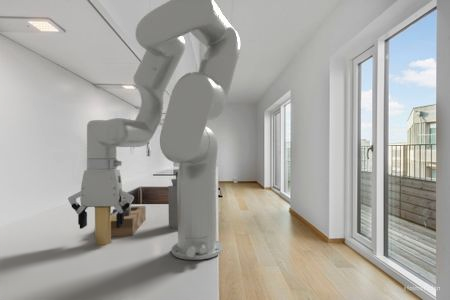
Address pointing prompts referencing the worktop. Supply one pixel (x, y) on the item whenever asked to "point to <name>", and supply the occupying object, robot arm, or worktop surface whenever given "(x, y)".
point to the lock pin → (113, 216)
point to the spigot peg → (102, 225)
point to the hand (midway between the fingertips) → (101, 227)
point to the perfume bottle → (173, 203)
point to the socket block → (129, 221)
